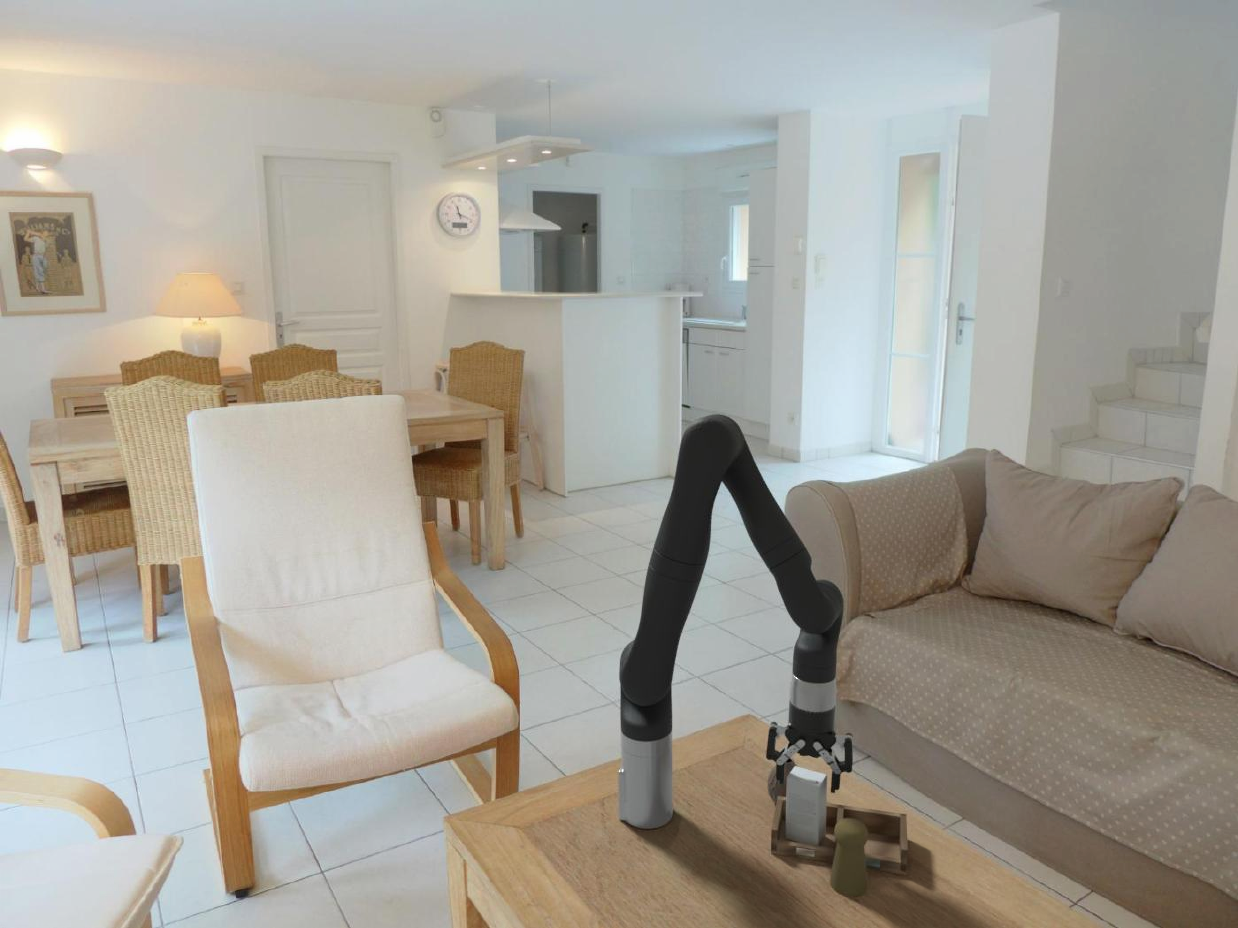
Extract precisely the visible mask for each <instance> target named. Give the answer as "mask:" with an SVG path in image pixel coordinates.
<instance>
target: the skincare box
mask: <svg viewBox="0 0 1238 928" xmlns="http://www.w3.org/2000/svg"><path fill="white" fill-rule="evenodd" d="M797 766H798V765H797ZM797 766H795V767H794V768H793V769H792V771H791V772H790V773H789V775H788V776H787V777H786V839H789V840H792V841H795V842H798V843H802V844H808V845H815V846H820V844H821V843H822V841H823V840H824V838H825V836H826V806H827V803H828V802H827V800H828V798H827V797H828V795H827V794H828V774H825V773H822V772H819V771H814V770H810V769H807V768H804V767H799V766H798V767H797Z"/></svg>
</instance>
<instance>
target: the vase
mask: <svg viewBox="0 0 1238 928" xmlns="http://www.w3.org/2000/svg"><path fill="white" fill-rule="evenodd" d="M795 766H797V767H799V766H798V765H797V764H796V762H795V760H794V758H792V757H791V758H790V759H788V760H787V761H786V768H785V781H784V784H780V780H777V779H776V764H775V765H774V766H773V767H772V768H771V770H770V771H769V774H768V777H767V793H768V795H769V797H770V799H771V801H772V802H773V803H774V804H775V805H776V803H777V798H778V796H782V797H786V777H787V776H788V775H789V773H790V772H791V771H792V769H793V768H794V767H795Z"/></svg>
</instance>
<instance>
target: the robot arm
mask: <svg viewBox="0 0 1238 928" xmlns="http://www.w3.org/2000/svg"><path fill="white" fill-rule="evenodd" d="M722 483H723V485H724V486H725V488H726V490H727V492H729V494H730V496H731V498H732V500H733V501H734V503H735V506H736V507H737V509H738V511H739V515H740V517H741V520H742V522H743V525H744V528H745V530H746V533H747V534H748V537H749V538H750V542H752V545H753V546H754V548H755V550H756V551H757V553H758V555H759V556H760V558H761V560H762V562H763V563H764V564H765V566H766V567H767V569H768V570H769V572H770V573H771V575H772V576H773V578H774V580H775V583H776V586H777V590H778V593H779V595H780V597H781V599H782V602H783V604H784V608H785V609H786V612H787V613H788V615H789V617H790V619H791V620H792V621H793V623H794V624H795V625H796V626H797V627H798V628H799V629H800V630H799V634H798V637H797V639H796V642H795V643H794V648H793V656H792V673H791V678H790V679H791V680H790V687H789V701H788V703H789V704H788V720H787V721H788V723H787V726H782V725H778V722H776V721H771V723H770V725H769V729H768V733H767V734H768V735H767V744H766V752H765V755H766V756H765V758H766V759H767V760H768V761H773V762H775V765H776V779H777V780H780V784H784V781H785V768H786V761H787V760H788V759H790V758H792V757H794V755H795V754H799V756H802V757H811V758H814V759H819V758H822V760H823V761H824V763H825V764H826V765H828V766H829V768H830V769H831V779H830V780H831V783H830V793H833V794H836V791H839V790H840V786H841V775H842V773H845V772H846V773H848V774H849V773H852V771H853V765H854V764H853V763H854V755H853V753H854V751H853V750H854V749H853V748H854V747H853V745H854V742H853V741H854V735H853V734H852V733H851V732H847V733H846V734H845V735H844V734H837V733H836V732H835V721H836V719H835V717H836V716H835V715H836V701H837V678H836V677H837V676H836V675H837V662H838V661H837V653H838V651H837V650H838V643H839V639H840V633H841V628H842V623H843V617H844V607H845V605H844V603H845V602H844V597H843V593H842V592H841V590H840V589H839V587H838V586H837V584H834V582H832V581H830V580H827V579H817V580H816V577H815V575H814V573H813V571H812V563H813V559H812V556H811V554H810V552H809V550H808V548H807V547H806V545H805V544H804V542H803V541H802V539H801V538H800V537H799V534H798V533H797V531H796V530H795V528H794V527H793V525H792V523H791V522H790V521H789V519H788V518H787V516H786V515H785V513H784V511H783V509H782V508H781V507H780V505H779V504H778V502H777V500H776V499H775V497H774V495H773V492H771V489H770V488H769V487H768V485H767V483H766V481H765V479H764V477H763V475H762V473H761V470H759V468H758V466H757V463H756V460H755V459H754V457H753V455H752V451H751V449H750V447H749V445H748V443H747V440H746V438H745V436H744V433H743V431H742V429H741V426H740V425H739V423H738V422H737V421H735V420H734V419H733V418H731V417H729V416H727V415H725V414H719V413H718V414H717V413H716V414H714V413H713V414H709V415H706V416H702V417H699V418H698V419H695V420H694V421H692V422H691V423H690V424H689V425H688V426H687V427H686V429H685V430H684V432H683V434H682V437H681V440H680V444H679V449H678V456H677V462H676V468H675V474H674V478H673V484H672V489H671V493H670V496H669V500H668V502H667V506H666V507H665V510H664V514H663V517H662V519H661V523H660V526H659V529H658V532H657V534H656V535H657V536H656V538H655V541H654V544H653V549H652V551H651V554H650V557H649V558H650V559H649V562H648V567H647V571H646V575H645V581H644V587H643V594H642V595H643V596H642V604H641V612H640V619H639V623H638V629H637V630H636V631H637V632H636V635H635V637H634V639H633V640H632V641H630V642H629V643H628V644H627V645H625V647H624V648H623V650H622V652H621V654H620V658H619V669H618V671H619V673H618V677H619V680H618V681H619V684H620V687H619V689H620V692H619V693H620V696H619V697H620V707H619V710H620V717H619V718H620V720H619V721H620V748H621V749H620V750H621V751H620V755H621V756H620V757H621V759H620V760H621V766H620V768H619V770H618V773H617V775H618V776H617V780H618V782H617V783H618V785H617V787H618V788H617V789H618V820H620V821H623V822H626V823H628V824H629V825H630V826H632V827H635V828H638V829H643V830H645V829H647V830H648V829H657V828H661V827H663V826H665V825H666V824H668V823H669V822H670V821H671V820H672V818H673V815H674V799H673V797H674V794H673V791H674V788H673V787H674V786H673V784H674V783H673V782H674V781H673V779H674V778H673V775H674V773H673V772H674V771H673V769H674V768H673V698H672V697H673V696H672V694H673V693H672V692H673V691H672V689H673V688H672V686H673V685H672V684H673V678H674V670H675V665H676V664H675V663H676V658H677V654H678V649H679V644H680V640H681V637H682V634H683V630H684V627H685V625H686V622H687V620H688V618H689V615H690V613H691V612H690V611H691V610H692V607H693V603H694V600H695V599H696V596H697V591H698V589H699V587H700V584H701V581H702V578H703V575H704V571H705V567H706V564H707V561H708V557H709V552H710V545H711V539H712V538H711V537H712V516H713V510H714V504H715V501H716V498H717V495H718V492H719V490H720V487H721V485H722ZM782 735H784V736H785V738H786V740H787V741H788V742H787V743H786V744H785V746H784V747H782V749H781V750H780V751H779V750H776V744H777V740H780V739H781V737H782ZM836 743H837V744H839V747H840V748H841V749H842V750H844V760H840V759H839V757H838V756H837V753H836V752H835V750H834V748H833V746H834V745H836Z"/></svg>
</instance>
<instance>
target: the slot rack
mask: <svg viewBox="0 0 1238 928" xmlns="http://www.w3.org/2000/svg"><path fill="white" fill-rule="evenodd" d="M844 818H853V819H857V820H859V821H861V822H862V823H863V824H864V825H865V827H866V829H867V831H868V839H867V842H866V844H865V845H864V851H865V861H866V870H873V871H879V872H886V873H892V874H898V875H904V876H907V870H908V869H907V868H908V855H909V854H908V853H909V846H908V845H909V844H908V843H909V842H908V841H909V840H908V823H907V822H908V821H907V820H908V819H907V818H908V817H907V813H900V812H893V811H887V810H879V809H872V808H864V807H860V806H850V805H844V804H838V803H831V802H830V803H829V802H827V806H826V836H825V838H824V840H823V841H822V843H821V844H820V846H815V845H808V844H802V843H798V842H795V841H792V840H789V839H786V797H782V796H778V798H777V803H776V804H775V810H774V813H773V818H772V819H773V820H772V823H771V824H772V825H771V829H770V830H771V831H770V833H771V835H770V836H771V838H770V854H774V855H779V856H780V855H781V856H786V857H792V858H799V859H805V860H812V861H815V862H816V861H817V862H822V863H823V862H824V863H829V864H833V861H834V856H835V851H836V846H837V841H836V838H835V835H834V829H835V825H836V824H837V822H838V821H839V820H841V819H844Z"/></svg>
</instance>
